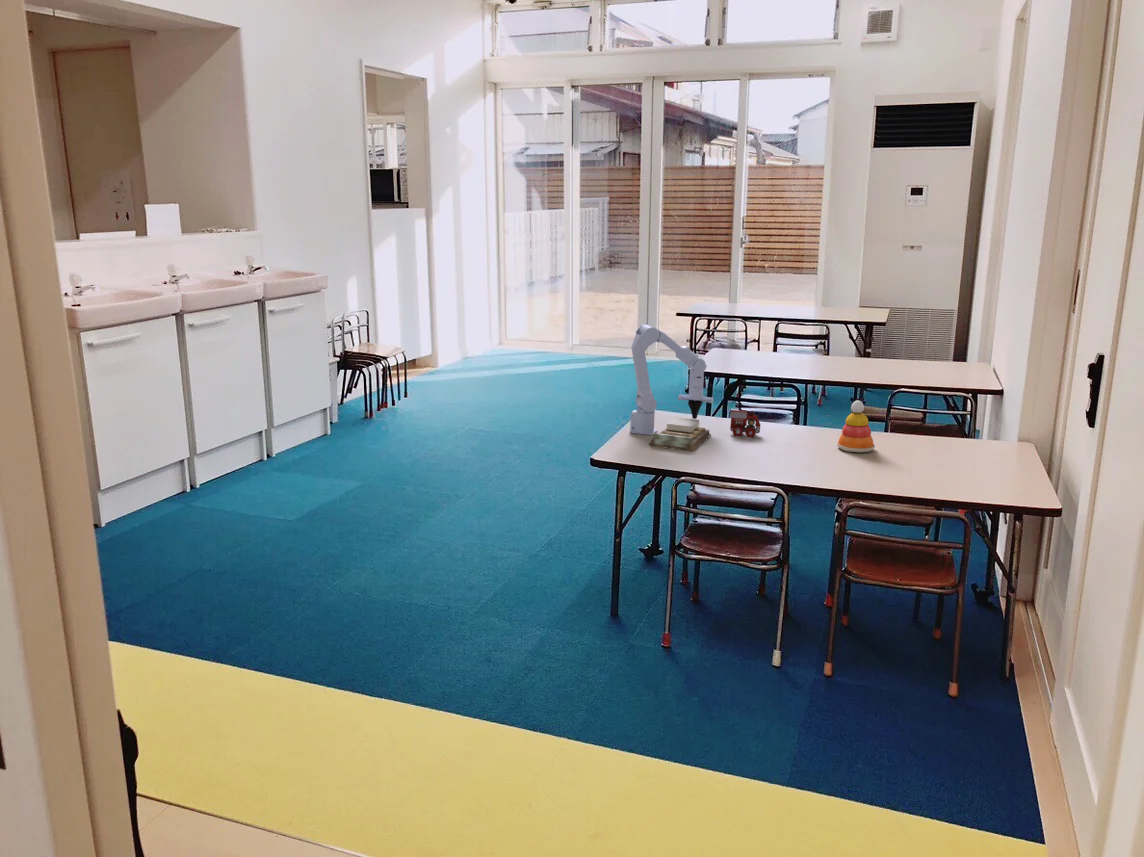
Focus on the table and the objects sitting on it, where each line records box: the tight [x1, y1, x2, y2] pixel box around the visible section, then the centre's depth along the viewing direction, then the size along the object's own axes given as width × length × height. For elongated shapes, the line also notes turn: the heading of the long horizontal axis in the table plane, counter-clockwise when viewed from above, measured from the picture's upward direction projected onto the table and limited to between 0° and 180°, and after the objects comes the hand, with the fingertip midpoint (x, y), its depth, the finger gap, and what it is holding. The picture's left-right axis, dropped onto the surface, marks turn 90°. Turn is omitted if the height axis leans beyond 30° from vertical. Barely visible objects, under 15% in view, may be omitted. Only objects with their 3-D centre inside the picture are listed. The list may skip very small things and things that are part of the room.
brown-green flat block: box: [648, 426, 712, 452], centre depth 356 cm, size 18×25×5 cm
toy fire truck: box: [729, 409, 761, 438], centre depth 365 cm, size 7×12×10 cm, turn 79°
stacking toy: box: [836, 399, 876, 453], centre depth 346 cm, size 14×14×20 cm
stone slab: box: [666, 416, 700, 432], centre depth 362 cm, size 10×12×2 cm
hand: (694, 418), depth 372 cm, fingers closed
